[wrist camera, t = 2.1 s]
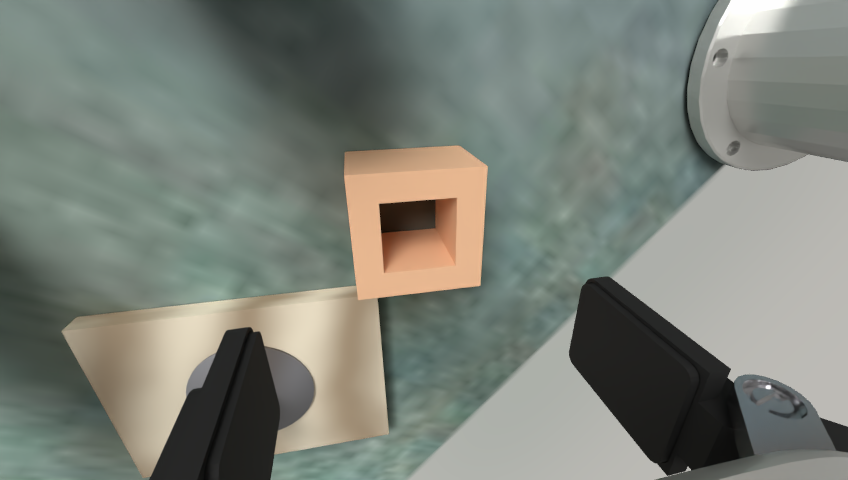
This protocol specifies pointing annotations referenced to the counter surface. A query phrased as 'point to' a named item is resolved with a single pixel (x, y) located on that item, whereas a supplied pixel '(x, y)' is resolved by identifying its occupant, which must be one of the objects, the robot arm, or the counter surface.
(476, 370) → the counter surface
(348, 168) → the ring
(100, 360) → the post stand
